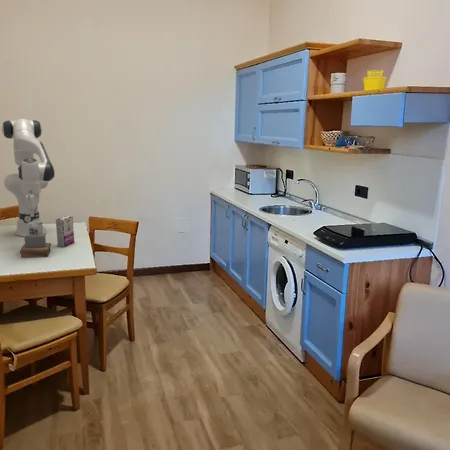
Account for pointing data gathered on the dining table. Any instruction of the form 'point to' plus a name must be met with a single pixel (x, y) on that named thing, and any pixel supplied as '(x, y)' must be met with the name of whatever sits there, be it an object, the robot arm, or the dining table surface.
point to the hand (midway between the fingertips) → (33, 214)
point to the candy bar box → (65, 231)
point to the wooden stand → (35, 251)
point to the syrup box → (35, 228)
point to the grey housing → (35, 241)
